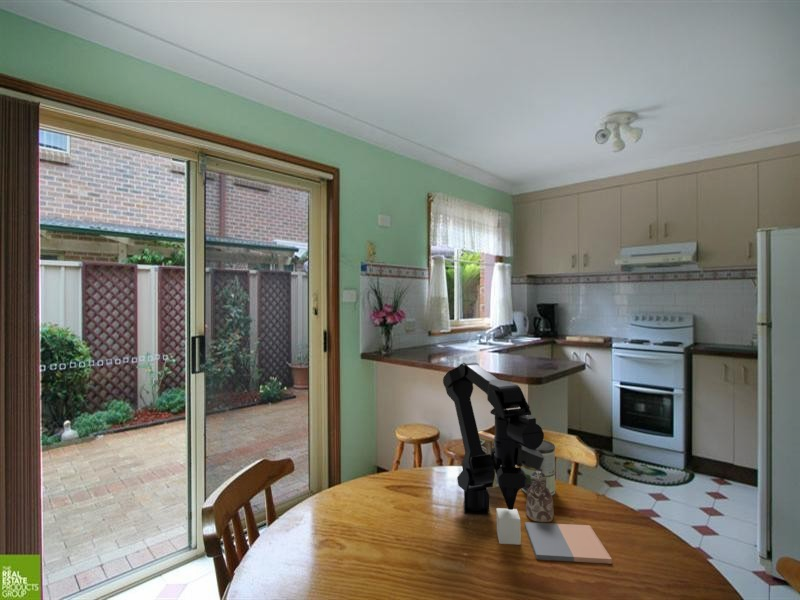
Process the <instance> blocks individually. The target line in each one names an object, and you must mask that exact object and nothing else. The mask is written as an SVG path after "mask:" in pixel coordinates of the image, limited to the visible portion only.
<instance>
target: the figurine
mask: <svg viewBox="0 0 800 600" xmlns="http://www.w3.org/2000/svg"><path fill="white" fill-rule="evenodd" d="M546 479H547V478H546V476H545V474H544V473H543V472H542V469H540V470H538V471H535V472H533V474H532V476H531V484H532V486H530V488H529V489H528V492H527V493H526V503H525V504H526V505H525V514H526V516H527V517H528V518H529V519H530V520H532V521H535V522H536V523H551V522H552V521H553V519H554V515H555V513H554V512H555V510H554V509H555V508H554V501H553V496H552V495H551V493H550V491H549V489H548V488H547V487H546Z"/></svg>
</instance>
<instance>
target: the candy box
mask: <svg viewBox="0 0 800 600" xmlns="http://www.w3.org/2000/svg"><path fill="white" fill-rule="evenodd" d="M478 433H479V438H480V442H481V446H482V449H483V451H484V452H485V453H486V454H490V456H491V449H492V448H493V447H494V446H495V442H494V437H495V434H492V433H490V432H486V431H483V430H478ZM494 459H495V458H494ZM498 487H499V485H498V481H497V474H496V472H495V478H494V482H493V487H491V488H492V489H495V488H498Z"/></svg>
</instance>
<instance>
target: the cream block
mask: <svg viewBox="0 0 800 600" xmlns="http://www.w3.org/2000/svg"><path fill="white" fill-rule="evenodd" d="M495 512H496V535H497V539H498V543H499V544H502V545H517V546H518V545H521V544H522V540H521V539H522V537H521V532H522V531H521V530H522V529H521V517H520V514H519V511H518V508H513V510H509V509H508V508H504V507H503V508H502V507H501V508H500V507H497V508H496V511H495Z"/></svg>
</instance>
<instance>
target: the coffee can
mask: <svg viewBox="0 0 800 600" xmlns="http://www.w3.org/2000/svg"><path fill="white" fill-rule="evenodd" d="M555 449H556V444H554V443H553V442H552V441H548V440H545V439H543V442H542V444H541V445H540V446H539V447H538V448H536V450H538V451H539V452H541V453H542V455H543V457H544V460H543V463H542V466H541V469H542V472H543V473H544V474H545V476H546V478H547V479H546V487H547V488H548V489H549V491H550V493H551V495H552V497H553V496H554V495H555V494H556V465H555V464H556V459H555V458H556V453H555V452H556V451H555ZM520 468H521V469H522V470H523V471H524V473H525V475H526V477H527V486H526V487H524V488H521V489H520V490H521V491H522V492H523V493H525V494H527V492H528V489H529V488H530V486H532V484H531V476H532V474H533V472H535V471H538V470H536V469H535V468H534V467H531V466H528V465H526V464H524V463H522V466H520Z"/></svg>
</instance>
